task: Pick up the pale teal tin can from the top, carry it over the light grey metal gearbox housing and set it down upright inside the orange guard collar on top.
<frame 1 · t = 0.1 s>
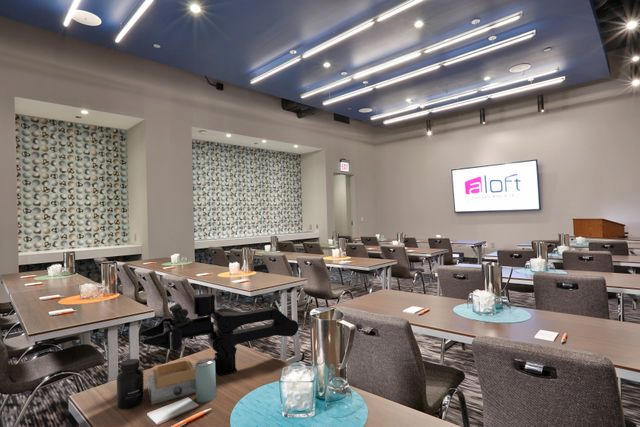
hand: (141, 337, 108), 17 cm above the table, tool horizontal, fingers open, 9 cm apart
supplement bottle: (130, 404, 101), on the table
tin can: (206, 397, 103), on the table
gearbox: (174, 389, 109), on the table
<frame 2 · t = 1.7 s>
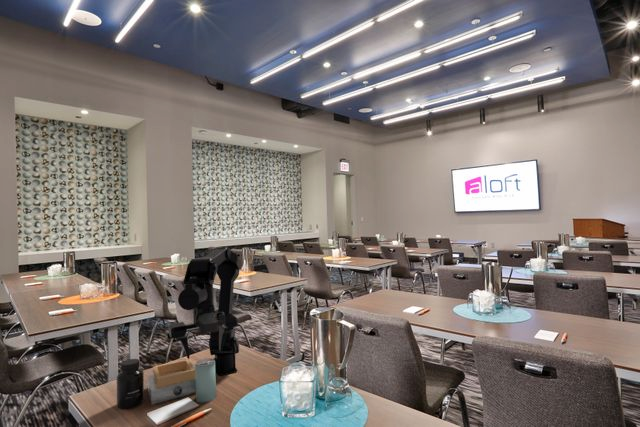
hand: (204, 354, 103), 12 cm above the table, tool pointing down, fingers open, 9 cm apart
nothing on the table moved.
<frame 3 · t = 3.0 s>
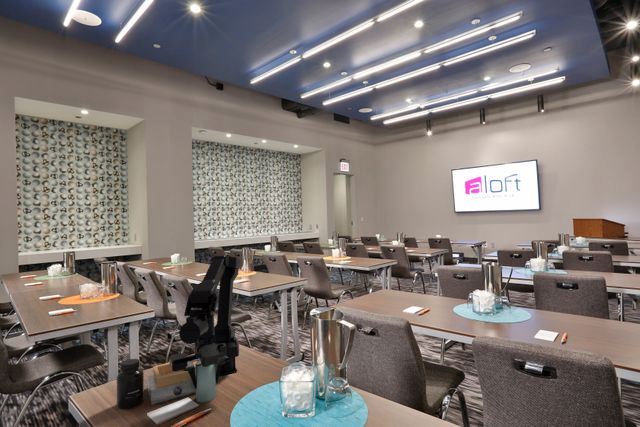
hand: (205, 385, 103), 4 cm above the table, tool pointing down, fingers closed on tin can, 5 cm apart
tin can: (206, 397, 103), on the table, touching gripper
everything else where it was.
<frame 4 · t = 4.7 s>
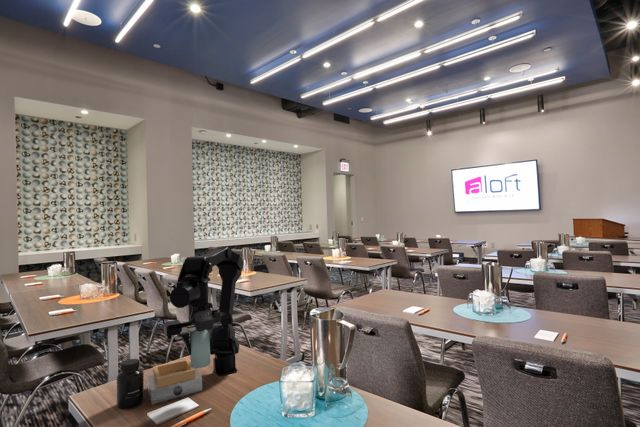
hand: (200, 352, 104), 13 cm above the table, tool pointing down, fingers closed on tin can, 5 cm apart
tin can: (200, 364, 104), point 9 cm above the table, touching gripper
everything else where it was.
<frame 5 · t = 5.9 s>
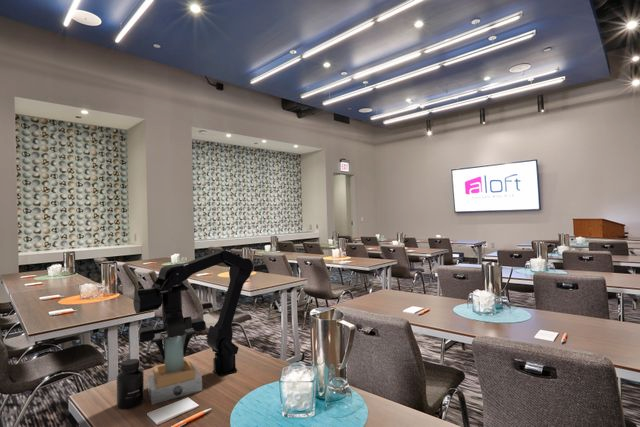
hand: (173, 357, 109), 10 cm above the table, tool pointing down, fingers closed on tin can, 5 cm apart
tin can: (174, 368, 109), point 6 cm above the table, touching gripper
everything else where it was.
when the fingers open (8 cm above the table, at t = 6.6 s): tin can stays where it is, resting on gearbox.
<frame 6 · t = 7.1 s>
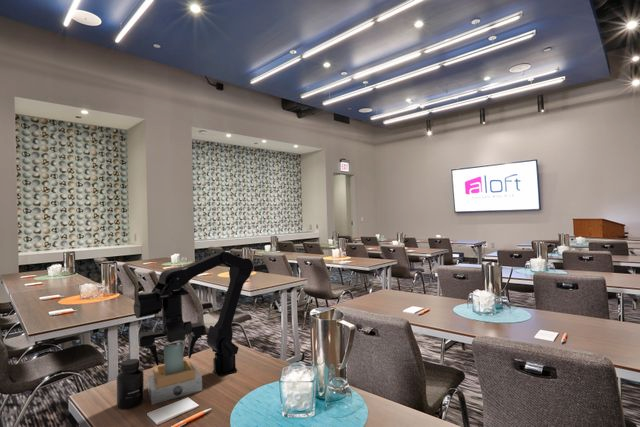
hand: (173, 361, 109), 8 cm above the table, tool pointing down, fingers open, 9 cm apart
tin can: (174, 376, 109), point 4 cm above the table, touching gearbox
everything else where it was.
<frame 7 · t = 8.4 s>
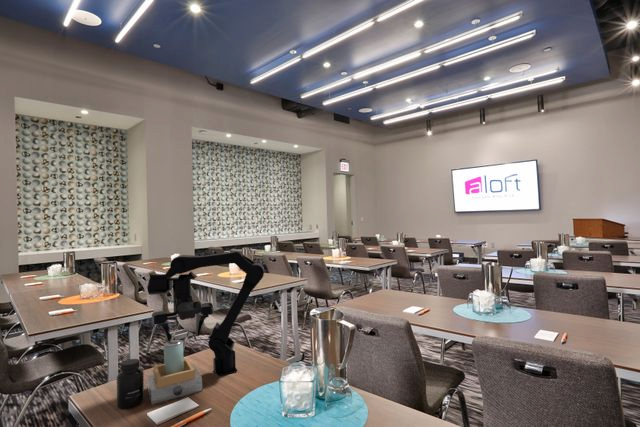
hand: (183, 338, 119), 12 cm above the table, tool pointing down, fingers open, 9 cm apart
nothing on the table moved.
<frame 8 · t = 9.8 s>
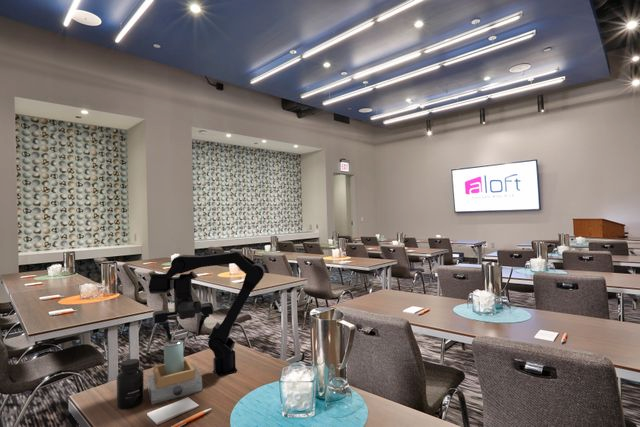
hand: (184, 338, 120), 12 cm above the table, tool pointing down, fingers open, 9 cm apart
nothing on the table moved.
at the end: tin can 0.1 cm off-centre on the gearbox, point 4.0 cm above the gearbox's base; tin can tilted 0°; the gripper is holding nothing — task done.
